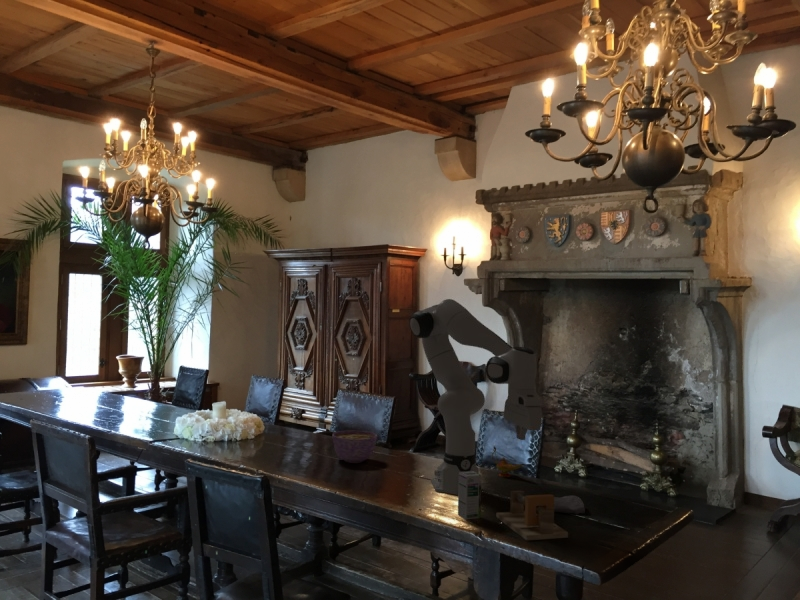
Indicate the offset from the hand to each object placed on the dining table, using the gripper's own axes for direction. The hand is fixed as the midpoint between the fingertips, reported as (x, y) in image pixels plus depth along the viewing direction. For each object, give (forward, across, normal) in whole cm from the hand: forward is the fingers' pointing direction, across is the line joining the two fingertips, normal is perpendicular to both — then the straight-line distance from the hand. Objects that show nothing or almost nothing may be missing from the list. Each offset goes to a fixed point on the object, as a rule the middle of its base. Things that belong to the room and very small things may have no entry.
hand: (520, 439), depth 215 cm
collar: (+25, +10, +2) cm, 27 cm away
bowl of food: (+27, -89, -36) cm, 100 cm away
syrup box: (+27, -8, -14) cm, 32 cm away
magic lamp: (+27, -54, +22) cm, 65 cm away
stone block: (+28, -9, +23) cm, 37 cm away
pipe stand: (+27, +5, +2) cm, 28 cm away
